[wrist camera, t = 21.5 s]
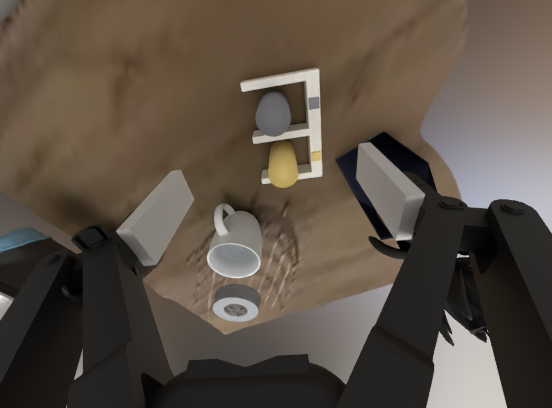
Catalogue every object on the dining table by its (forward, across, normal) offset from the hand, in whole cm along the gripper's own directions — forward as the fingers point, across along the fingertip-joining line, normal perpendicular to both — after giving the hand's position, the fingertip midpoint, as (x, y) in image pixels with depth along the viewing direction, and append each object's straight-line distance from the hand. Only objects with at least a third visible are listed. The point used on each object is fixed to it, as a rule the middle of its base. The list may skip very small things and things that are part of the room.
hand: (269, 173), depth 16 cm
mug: (+27, -12, -24) cm, 38 cm away
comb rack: (+27, +2, -4) cm, 27 cm away
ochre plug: (+27, 0, -9) cm, 28 cm away
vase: (+27, +18, -14) cm, 35 cm away
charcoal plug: (+27, 0, 0) cm, 27 cm away
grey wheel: (+27, -22, -60) cm, 69 cm away
